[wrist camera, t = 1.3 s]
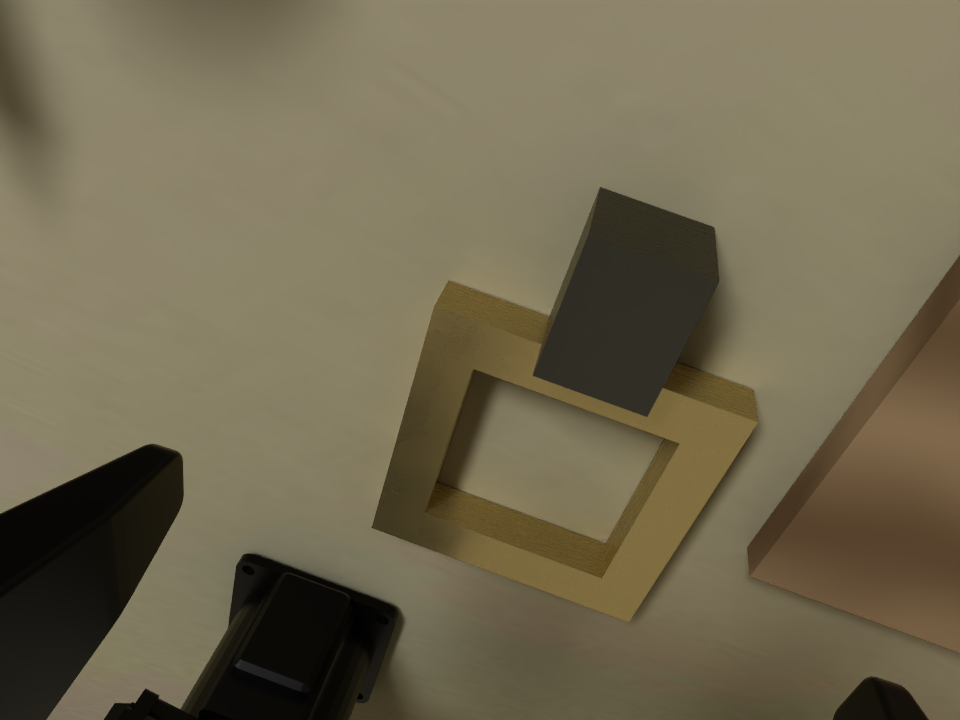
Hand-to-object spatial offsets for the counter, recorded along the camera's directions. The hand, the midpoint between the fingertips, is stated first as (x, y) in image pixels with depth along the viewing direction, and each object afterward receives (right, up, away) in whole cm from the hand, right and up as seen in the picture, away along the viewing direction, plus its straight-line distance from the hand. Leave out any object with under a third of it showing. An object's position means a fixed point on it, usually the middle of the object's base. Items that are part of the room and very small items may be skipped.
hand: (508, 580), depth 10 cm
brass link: (+2, +2, +13) cm, 13 cm away
